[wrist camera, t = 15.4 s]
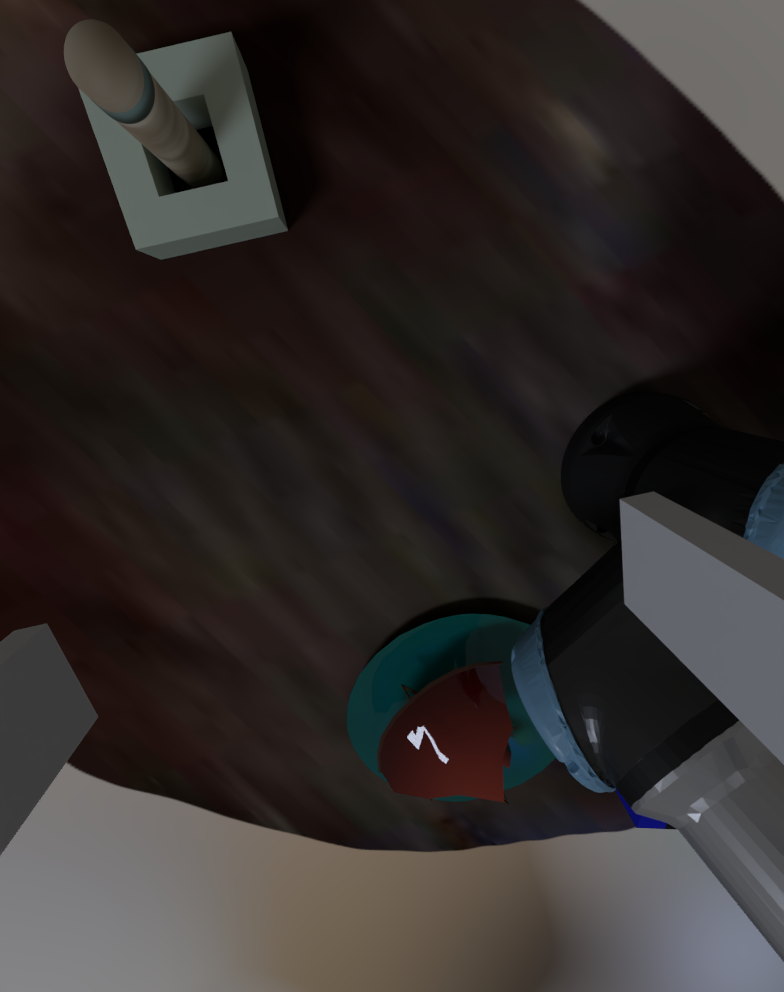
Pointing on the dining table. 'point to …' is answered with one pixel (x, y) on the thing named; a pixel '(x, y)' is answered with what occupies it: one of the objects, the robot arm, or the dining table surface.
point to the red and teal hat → (447, 712)
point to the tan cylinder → (137, 101)
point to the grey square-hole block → (235, 119)
